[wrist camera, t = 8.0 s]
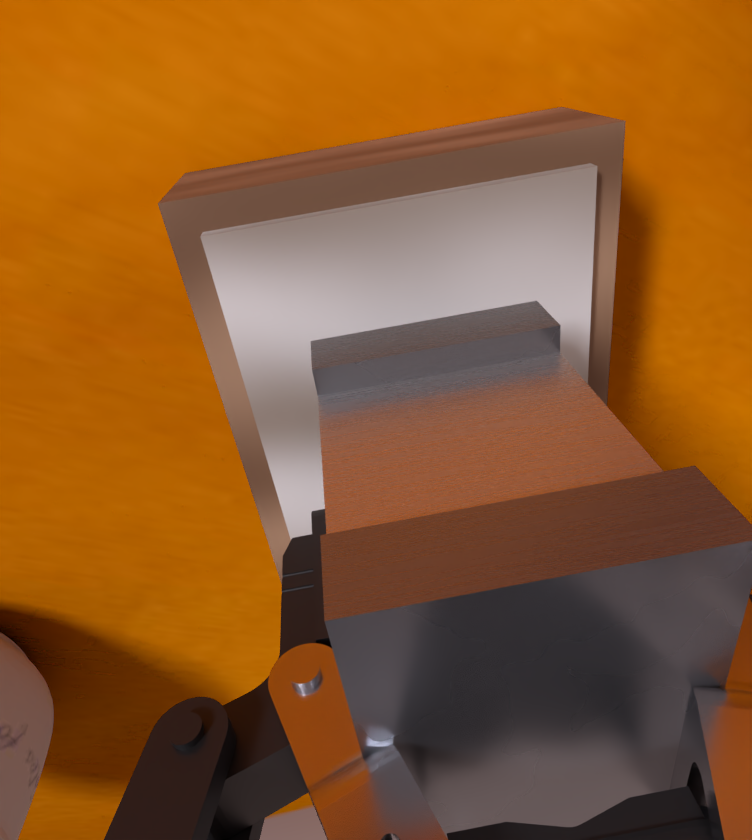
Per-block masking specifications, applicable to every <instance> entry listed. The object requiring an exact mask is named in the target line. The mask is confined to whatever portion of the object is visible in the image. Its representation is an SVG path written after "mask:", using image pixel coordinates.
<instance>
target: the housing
mask: <svg viewBox="0 0 752 840" xmlns="http://www.w3.org/2000/svg"><path fill="white" fill-rule="evenodd" d="M560 327H561V325H560V324H559V323H558V322H557V321H556V320H555V319H554V318H553V317H552V316H551V315H550V314H549V313H548V312H547V311H546V310H545V309H544V308H543V307H542V305H541V304H540V303H539V302H538V301H532V302H526V303H521V304H515V305H510V306H504V307H498V308H493V309H487V310H482V311H476V312H470V313H465V314H459V315H454V316H448V317H442V318H437V319H431V320H426V321H420V322H414V323H409V324H403V325H398V326H392V327H386V328H381V329H375V330H370V331H364V332H358V333H353V334H347V335H342V336H336V337H331V338H325V339H319V340H314V341H311V361H312V373H313V377H314V381H315V386H316V390H317V395H318V407H319V423H320V439H321V455H322V471H323V487H324V503H325V518H326V534H324V535H320V541H321V561H322V581H323V601H324V621H325V625H326V628H327V632H328V635H329V639H330V643H331V646H332V650H333V653H334V657H335V660H336V664H337V668H338V671H339V675H340V678H341V682H342V685H343V689H344V693H345V696H346V700H347V703H348V707H349V710H350V714H351V717H352V721H353V725H354V728H355V732H356V735H357V739H358V742H359V746H360V750H361V753H362V757H363V758H365V757H367V756H369V755H370V754H372V753H374V752H376V751H378V750H380V749H382V748H384V747H386V746H389V745H391V744H393V745H394V746H395V747H396V749H397V750H398V752H399V753H400V755H401V757H402V758H403V760H404V762H405V764H406V765H407V767H408V769H409V771H410V773H411V774H412V776H413V778H414V780H415V782H416V783H417V785H418V787H419V789H420V790H421V792H422V794H423V796H424V798H425V799H426V801H427V803H428V805H429V806H430V808H431V810H432V812H433V814H434V815H435V817H436V819H437V821H438V823H439V824H440V826H441V828H442V830H443V831H444V833H445V835H446V837H447V833H451V832H456V831H461V830H467V829H472V828H477V827H482V826H487V825H492V824H497V823H502V822H516V823H527V824H538V825H549V826H560V827H575V826H578V825H580V824H582V823H584V822H586V821H588V820H589V819H591V818H593V817H595V816H597V815H598V814H600V813H602V812H604V811H606V810H608V809H609V808H611V807H613V806H615V805H617V804H618V803H620V802H622V801H624V800H626V799H627V798H629V797H634V796H640V795H645V794H650V793H655V792H660V791H665V790H669V788H670V784H671V779H672V774H673V770H674V765H675V760H676V756H677V751H678V746H679V742H680V737H681V732H682V728H683V723H684V718H685V714H686V709H687V704H688V700H689V695H690V690H691V686H701V687H711V688H719V689H725V685H726V682H727V678H728V674H729V670H730V667H731V663H732V659H733V655H734V651H735V648H736V644H737V640H738V636H739V633H740V629H741V625H742V621H743V617H744V614H745V610H746V606H747V602H748V599H749V595H750V591H751V587H752V525H751V524H750V523H749V522H748V520H747V519H746V518H745V517H744V516H743V515H742V514H741V513H740V512H739V511H738V510H737V509H736V508H735V507H734V506H733V505H732V504H731V503H730V502H729V501H728V500H727V499H726V498H725V496H724V495H723V494H722V493H721V492H720V491H719V490H718V489H717V488H716V487H715V486H714V485H713V484H712V483H711V482H710V481H709V480H708V479H707V478H706V477H705V476H704V475H703V474H702V472H701V471H700V470H699V469H698V468H697V467H696V466H691V467H685V468H680V469H675V470H669V471H663V470H662V469H661V468H660V467H659V466H658V464H657V463H656V462H655V461H654V460H653V459H652V458H651V456H650V455H649V454H648V453H647V452H646V451H645V449H644V448H643V447H642V446H641V445H640V444H639V443H638V441H637V440H636V439H635V438H634V437H633V436H632V435H631V433H630V432H629V431H628V430H627V429H626V428H625V427H624V425H623V424H622V423H621V422H620V421H619V420H618V418H617V417H616V416H615V415H614V414H613V413H612V412H611V410H610V409H609V408H608V407H607V406H606V405H605V404H604V402H603V401H602V400H601V399H600V398H599V397H598V396H597V394H596V393H595V392H594V391H593V390H592V389H591V387H590V386H589V385H588V384H587V383H586V382H585V381H584V379H583V378H582V377H581V376H580V375H579V374H578V373H577V371H576V370H575V369H574V368H573V367H572V366H571V365H570V363H569V362H568V361H567V360H566V359H565V358H564V356H563V355H562V354H561V353H560ZM447 839H448V838H447Z"/></svg>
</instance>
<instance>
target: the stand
mask: <svg viewBox="0 0 752 840" xmlns="http://www.w3.org/2000/svg"><path fill="white" fill-rule="evenodd" d="M624 135H625V121H623V120H619V119H614V118H610V117H605V116H601V115H596V114H592V113H587V112H582V111H578V110H573V109H569V108H564V107H559V108H554V109H548V110H542V111H536V112H531V113H525V114H519V115H514V116H508V117H502V118H497V119H491V120H485V121H480V122H474V123H468V124H463V125H457V126H451V127H446V128H440V129H434V130H428V131H423V132H417V133H411V134H406V135H400V136H394V137H389V138H383V139H377V140H372V141H366V142H360V143H355V144H349V145H343V146H337V147H332V148H326V149H320V150H315V151H309V152H303V153H298V154H292V155H286V156H281V157H275V158H269V159H264V160H258V161H252V162H247V163H241V164H235V165H229V166H224V167H218V168H212V169H207V170H201V171H195V172H190V173H185V174H184V175H183V176H182V177H181V178H180V179H179V181H178V182H177V183H176V184H175V185H174V186H173V187H172V188H171V190H170V191H169V192H168V193H167V194H166V195H165V196H164V197H163V198H162V200H161V201H160V202H159V203H158V205H159V208H160V211H161V214H162V217H163V221H164V224H165V227H166V230H167V233H168V236H169V239H170V242H171V245H172V248H173V251H174V254H175V257H176V260H177V264H178V267H179V270H180V273H181V276H182V279H183V282H184V285H185V288H186V291H187V294H188V297H189V300H190V303H191V307H192V310H193V313H194V316H195V319H196V322H197V325H198V328H199V331H200V334H201V337H202V340H203V343H204V346H205V350H206V353H207V356H208V359H209V362H210V365H211V368H212V371H213V374H214V377H215V380H216V383H217V386H218V390H219V393H220V396H221V399H222V402H223V405H224V408H225V411H226V414H227V417H228V420H229V423H230V426H231V429H232V433H233V436H234V439H235V442H236V445H237V448H238V451H239V454H240V457H241V460H242V463H243V466H244V469H245V472H246V476H247V479H248V482H249V485H250V488H251V491H252V494H253V497H254V500H255V503H256V506H257V509H258V512H259V515H260V519H261V522H262V525H263V528H264V531H265V534H266V537H267V540H268V543H269V546H270V549H271V552H272V555H273V558H274V562H275V565H276V568H277V571H278V574H279V577H280V580H281V583H282V578H283V576H282V562H283V554H284V553H285V551H286V549H287V547H288V545H289V543H290V541H291V539H292V538H294V537H300V536H305V535H310V534H312V520H311V512H312V511H315V510H320V509H325V503H324V487H323V471H322V455H321V439H320V423H319V407H318V395H317V390H316V386H315V381H314V377H313V373H312V361H311V341H314V340H319V339H325V338H331V337H336V336H342V335H347V334H353V333H358V332H364V331H370V330H375V329H381V328H386V327H392V326H398V325H403V324H409V323H414V322H420V321H426V320H431V319H437V318H442V317H448V316H454V315H459V314H465V313H470V312H476V311H482V310H487V309H493V308H498V307H504V306H510V305H515V304H521V303H526V302H532V301H538V302H539V303H540V304H541V305H542V307H543V308H544V309H545V310H546V311H547V312H548V313H549V314H550V315H551V316H552V317H553V318H554V319H555V320H556V321H557V322H558V323H559V324H560V325H561V327H560V353H561V354H562V355H563V356H564V358H565V359H566V360H567V361H568V362H569V363H570V365H571V366H572V367H573V368H574V369H575V370H576V371H577V373H578V374H579V375H580V376H581V377H582V378H583V379H584V381H585V382H586V383H587V384H588V385H589V386H590V387H591V389H592V390H593V391H594V392H595V393H596V394H597V396H598V397H599V398H600V399H601V400H602V401H603V402H604V404H605V405H606V406H607V397H608V381H609V366H610V350H611V335H612V320H613V304H614V289H615V274H616V258H617V243H618V228H619V212H620V197H621V181H622V166H623V151H624Z"/></svg>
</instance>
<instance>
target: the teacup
mask: <svg viewBox="0 0 752 840" xmlns="http://www.w3.org/2000/svg"><path fill="white" fill-rule="evenodd" d="M53 724H54V708H53V700H52V696H51V693H50V690H49V688H48V685H47V683H46V681H45V679H44V678H43V676H42V675H41V674H40V672H39V671H38V669H37V668H36V667H35V665H34V664H33V663H32V662H31V661H30V660H29V659H28V657H27V656H26V655H25V653H24V652H23V651H22V650H21V648H20V647H19V646H18V645H16V644H15V643H14V642H13V641H12V640H11V639H10V638H8V637H7V636H6V635H4V634H3V633H1V632H0V840H18V837H19V835H20V832H21V829H22V827H23V824H24V821H25V818H26V816H27V813H28V810H29V807H30V805H31V802H32V799H33V796H34V793H35V790H36V787H37V784H38V781H39V778H40V775H41V772H42V769H43V766H44V763H45V759H46V756H47V752H48V749H49V745H50V740H51V736H52V731H53Z"/></svg>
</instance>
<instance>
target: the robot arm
mask: <svg viewBox="0 0 752 840" xmlns="http://www.w3.org/2000/svg"><path fill="white" fill-rule="evenodd" d="M311 520H312V534H310V535H305V536H300V537H294V538H292V539H291V541H290V543H289V545H288V547H287V549H286V551H285V553H284V554H283V562H282V576H283V578H282V600H281V638H280V655H279V659H278V660H277V661H276V663H275V664H274V666H273V668H272V670H271V672H270V675H269V677H268V678H267V679H266V680H265V681H264V682H263V683H262V684H261V685H259V686H258V687H257V688H255V689H254V690H252V691H250V692H249V693H247V694H245V695H243V696H241V697H239V698H237V699H235V700H233V701H231V702H229V703H227V704H225V705H223V706H222V705H221V704H220V703H219V702H217V701H216V700H214V699H211V698H207V697H195V698H190V699H187V700H185V701H182V702H180V703H178V704H176V705H175V706H173V707H172V708H170V709H169V710H168V711H167V712H166V713H165V714H164V715H163V716H162V717H161V718H160V719H159V720H158V722H157V723H156V725H155V726H154V728H153V730H152V732H151V734H150V736H149V738H148V741H147V743H146V745H145V747H144V750H143V752H142V754H141V757H140V759H139V761H138V763H137V766H136V768H135V770H134V772H133V775H132V777H131V779H130V782H129V784H128V786H127V788H126V791H125V793H124V795H123V798H122V800H121V802H120V804H119V807H118V809H117V811H116V813H115V816H114V818H113V820H112V823H111V825H110V827H109V829H108V832H107V834H106V836H105V839H104V840H259V839H260V835H261V831H262V826H263V823H264V819H265V817H267V816H269V815H270V814H272V813H274V812H275V811H277V810H279V809H281V808H282V807H284V806H286V805H287V804H289V803H291V802H293V801H294V800H296V799H298V798H300V797H301V796H303V795H305V794H306V793H308V792H309V795H310V797H311V800H312V802H313V805H314V807H315V810H316V812H317V815H318V817H319V820H320V822H321V825H322V827H323V830H324V832H325V835H326V837H327V840H752V594H750V595H749V599H748V602H747V606H746V610H745V614H744V617H743V621H742V625H741V629H740V633H739V636H738V640H737V644H736V648H735V651H734V655H733V659H732V663H731V667H730V670H729V674H728V678H727V682H726V685H725V689H719V688H711V687H701V686H691V690H690V695H689V700H688V704H687V709H686V714H685V718H684V723H683V728H682V732H681V737H680V742H679V746H678V751H677V756H676V760H675V765H674V770H673V774H672V779H671V784H670V788H669V790H665V791H660V792H655V793H650V794H645V795H640V796H634V797H629V798H627V799H626V800H624V801H622V802H620V803H618V804H617V805H615V806H613V807H611V808H609V809H608V810H606V811H604V812H602V813H600V814H598V815H597V816H595V817H593V818H591V819H589V820H588V821H586V822H584V823H582V824H580V825H578V826H575V827H560V826H549V825H538V824H527V823H516V822H502V823H497V824H492V825H487V826H482V827H477V828H472V829H467V830H461V831H456V832H451V833H447V837H446V835H445V833H444V831H443V830H442V828H441V826H440V824H439V823H438V821H437V819H436V817H435V815H434V814H433V812H432V810H431V808H430V806H429V805H428V803H427V801H426V799H425V798H424V796H423V794H422V792H421V790H420V789H419V787H418V785H417V783H416V782H415V780H414V778H413V776H412V774H411V773H410V771H409V769H408V767H407V765H406V764H405V762H404V760H403V758H402V757H401V755H400V753H399V752H398V750H397V749H396V747H395V746H394V745H393V744H391V745H389V746H386V747H384V748H382V749H380V750H378V751H376V752H374V753H372V754H370V755H369V756H367V757H365V758H363V757H362V753H361V750H360V746H359V742H358V739H357V735H356V732H355V728H354V725H353V721H352V717H351V714H350V710H349V707H348V703H347V700H346V696H345V693H344V689H343V685H342V682H341V678H340V675H339V671H338V668H337V664H336V660H335V657H334V653H333V650H332V646H331V643H330V639H329V635H328V632H327V628H326V625H325V621H324V601H323V581H322V561H321V541H320V535H324V534H326V518H325V509H320V510H315V511H312V512H311ZM447 838H448V839H447Z"/></svg>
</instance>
